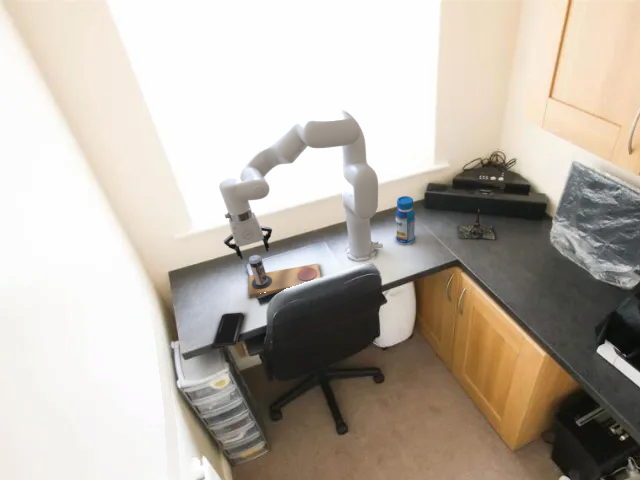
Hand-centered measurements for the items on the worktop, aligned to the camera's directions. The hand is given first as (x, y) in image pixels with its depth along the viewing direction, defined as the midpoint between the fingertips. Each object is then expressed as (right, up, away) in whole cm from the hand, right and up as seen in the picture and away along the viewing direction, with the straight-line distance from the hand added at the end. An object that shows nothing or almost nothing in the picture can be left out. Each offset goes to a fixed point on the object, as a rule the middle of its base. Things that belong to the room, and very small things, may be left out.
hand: (254, 253), depth 154 cm
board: (+9, -10, +11) cm, 18 cm away
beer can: (0, -11, +9) cm, 14 cm away
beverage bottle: (+58, +8, +30) cm, 66 cm away
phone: (-6, -28, -8) cm, 30 cm away
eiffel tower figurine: (+90, +12, +32) cm, 96 cm away
